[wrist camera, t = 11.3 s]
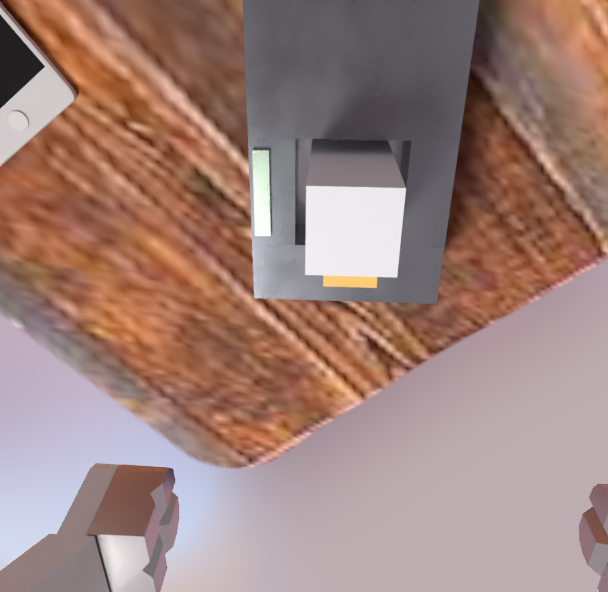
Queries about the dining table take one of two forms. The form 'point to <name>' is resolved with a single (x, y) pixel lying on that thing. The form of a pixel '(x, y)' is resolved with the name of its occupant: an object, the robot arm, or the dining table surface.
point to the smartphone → (26, 88)
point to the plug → (353, 212)
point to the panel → (354, 125)
